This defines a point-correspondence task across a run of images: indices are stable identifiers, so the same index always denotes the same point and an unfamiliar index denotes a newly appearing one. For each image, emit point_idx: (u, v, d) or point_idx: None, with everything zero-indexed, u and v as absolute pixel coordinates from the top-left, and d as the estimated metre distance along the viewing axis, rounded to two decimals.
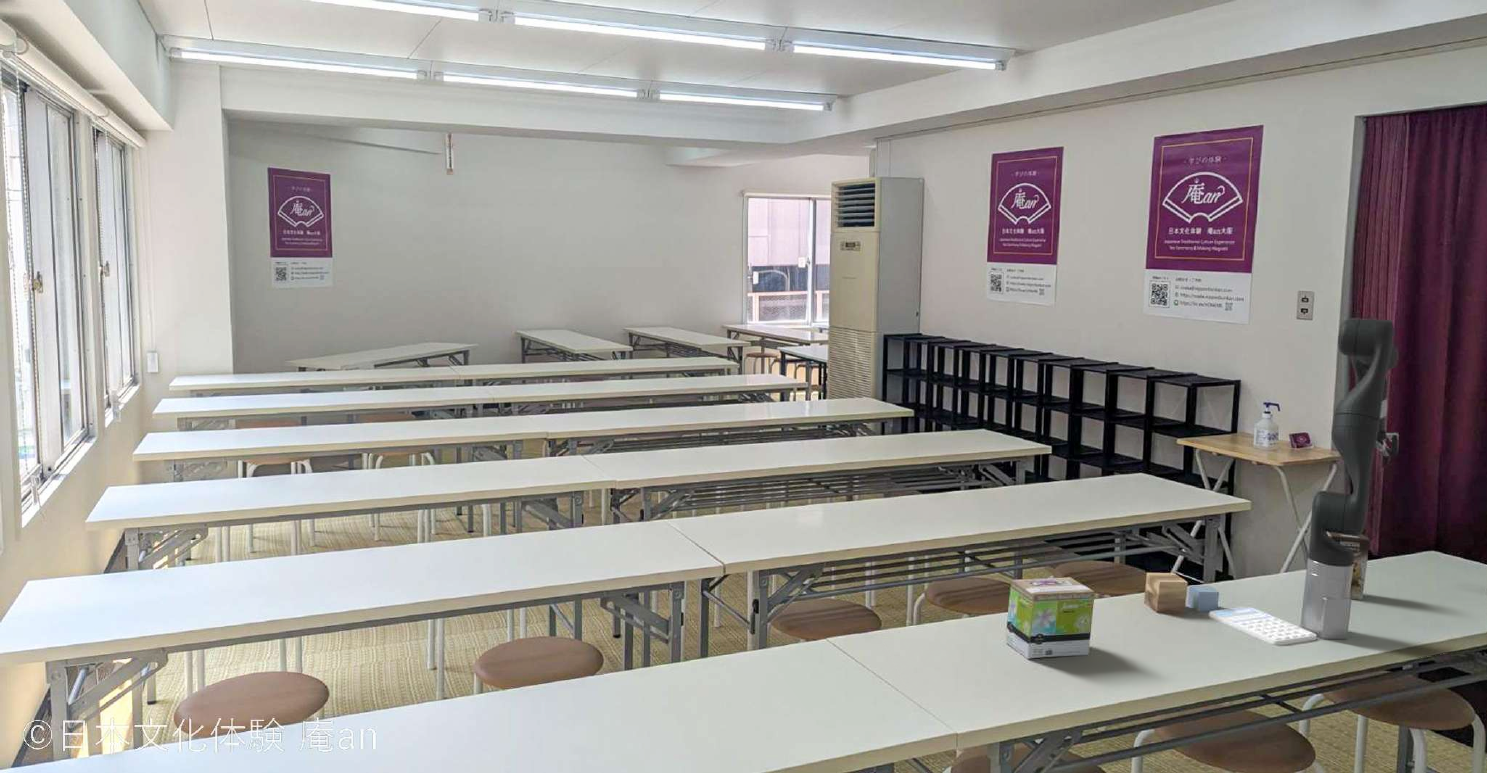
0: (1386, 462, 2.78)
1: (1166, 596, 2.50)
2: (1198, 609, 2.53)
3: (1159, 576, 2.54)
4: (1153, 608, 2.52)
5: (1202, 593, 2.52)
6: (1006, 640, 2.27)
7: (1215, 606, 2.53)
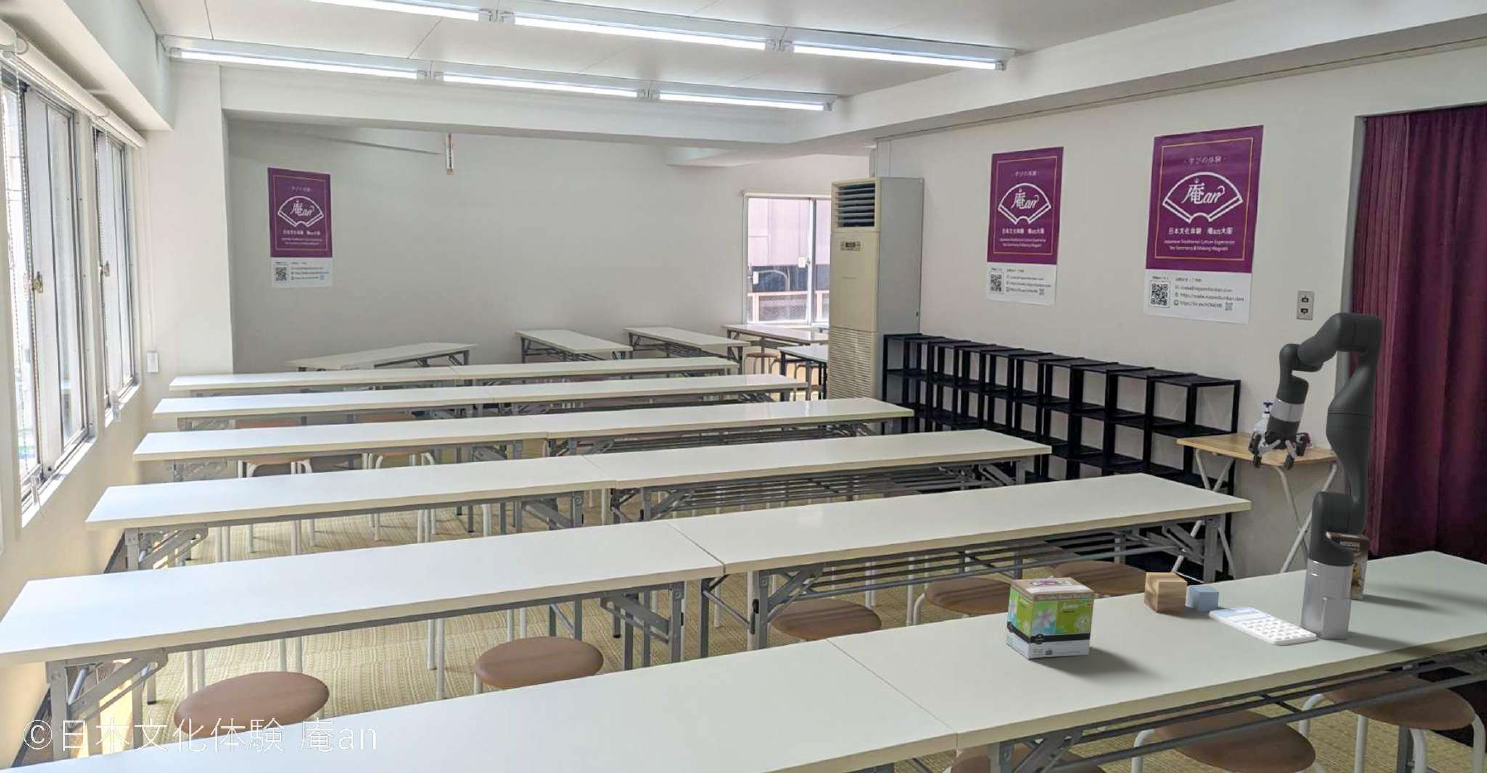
0: (1291, 464, 2.83)
1: (1165, 596, 2.50)
2: (1198, 609, 2.53)
3: (1159, 575, 2.54)
4: (1153, 608, 2.52)
5: (1202, 593, 2.52)
6: (1006, 640, 2.27)
7: (1215, 606, 2.53)
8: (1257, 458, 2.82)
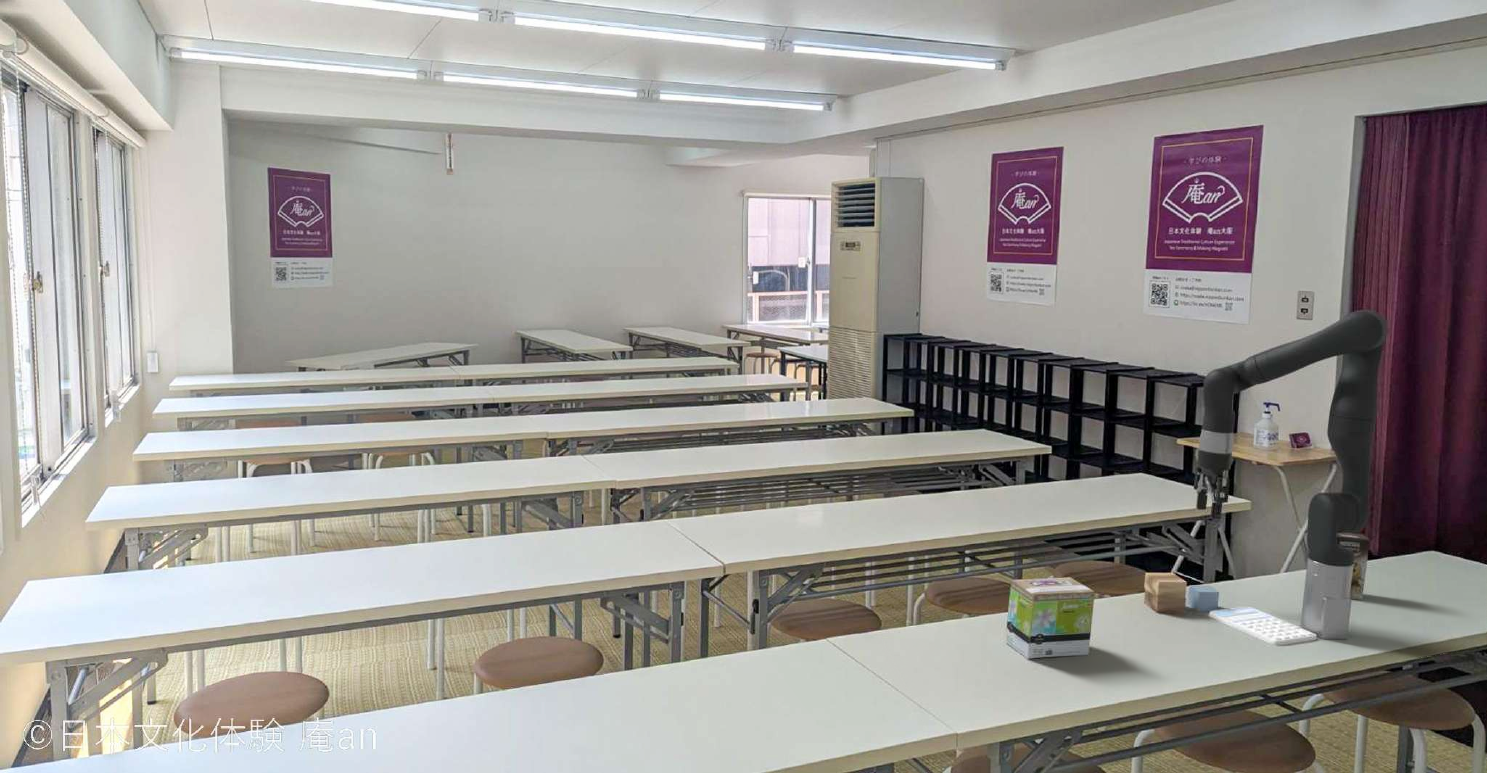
0: None
1: (1165, 596, 2.50)
2: (1198, 609, 2.53)
3: (1158, 576, 2.54)
4: (1153, 608, 2.52)
5: (1202, 593, 2.52)
6: (1006, 640, 2.27)
7: (1215, 606, 2.53)
8: None
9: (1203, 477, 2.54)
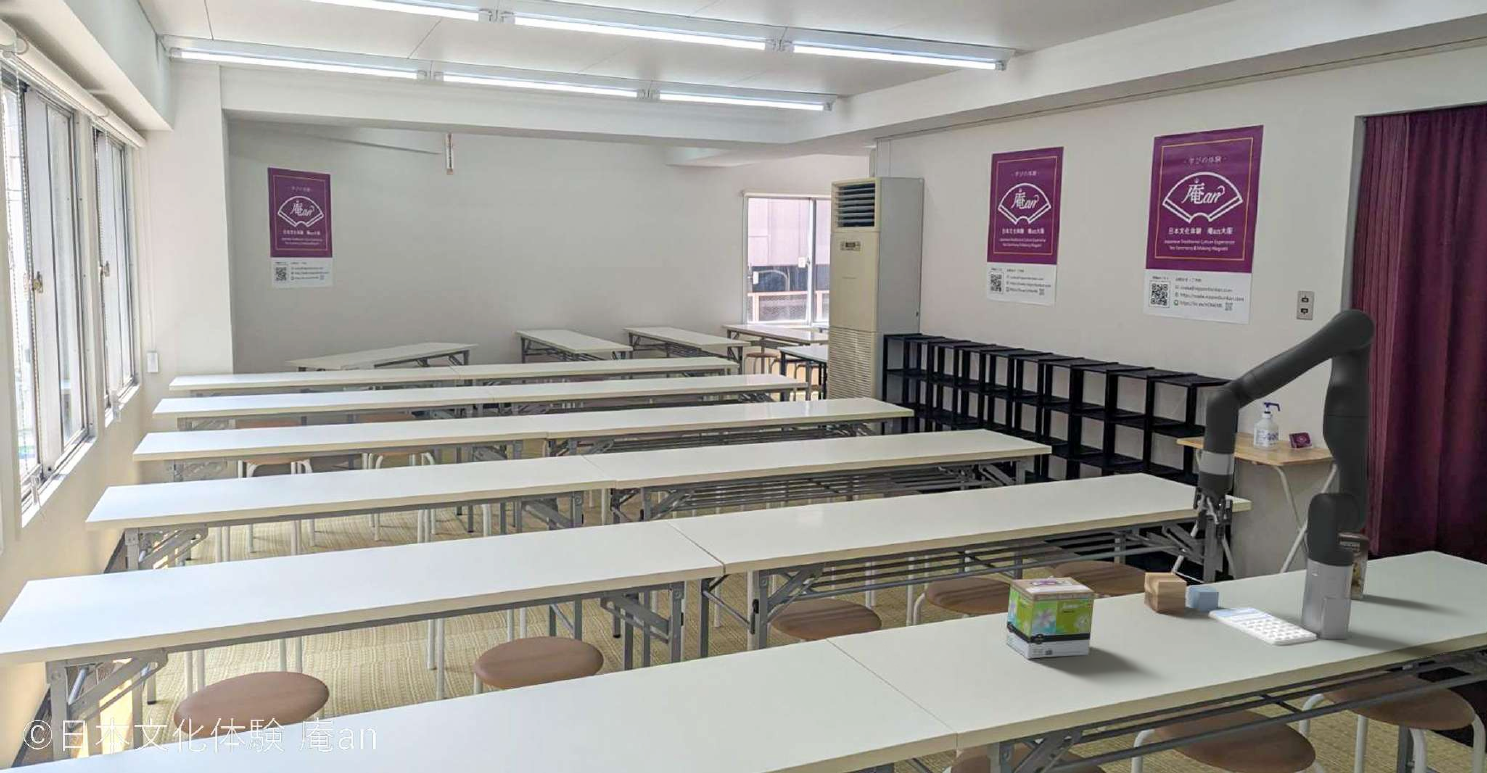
0: None
1: (1165, 596, 2.50)
2: (1198, 609, 2.53)
3: (1158, 575, 2.54)
4: (1153, 608, 2.52)
5: (1202, 593, 2.52)
6: (1006, 640, 2.27)
7: (1215, 606, 2.53)
8: None
9: (1204, 498, 2.52)
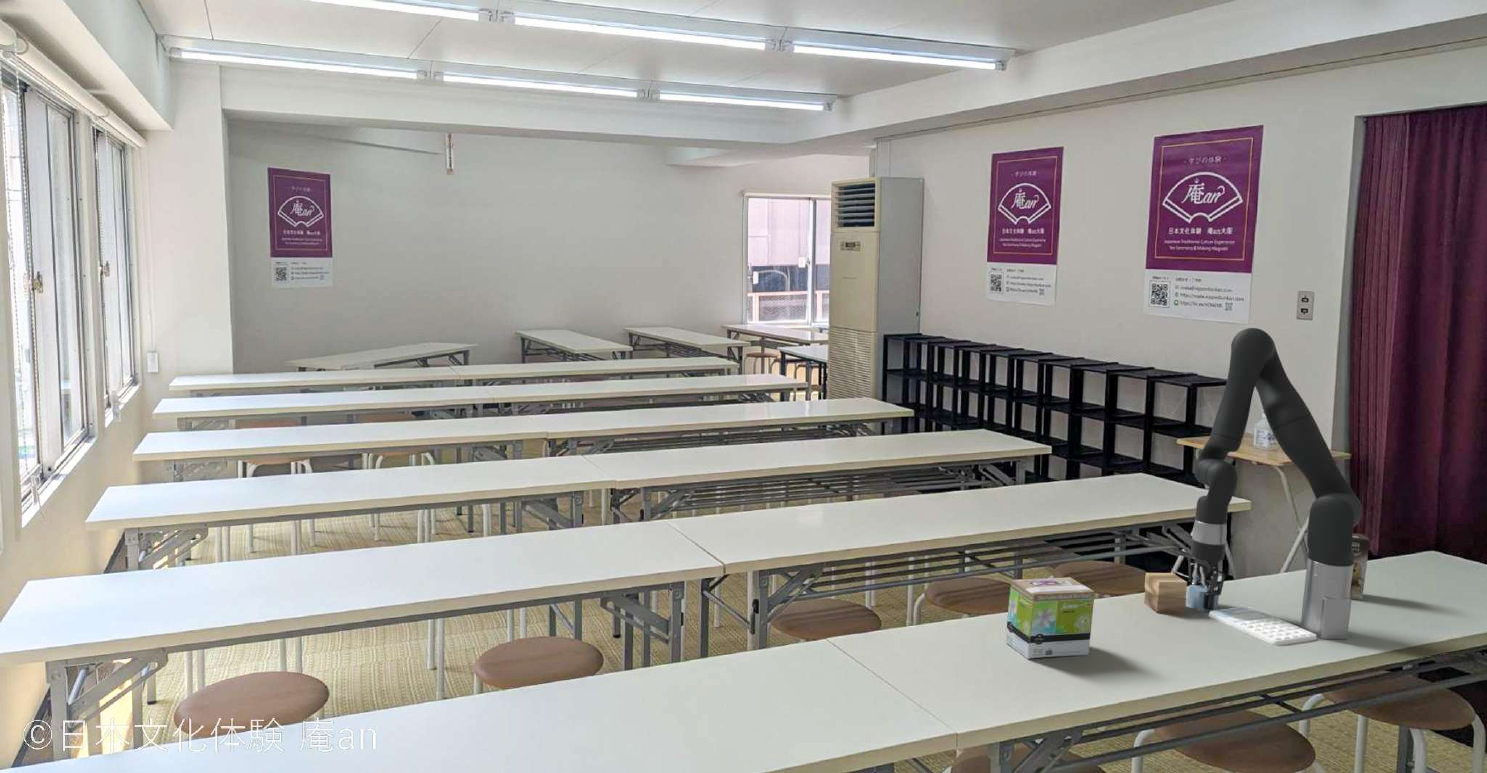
0: None
1: (1165, 596, 2.50)
2: (1198, 609, 2.53)
3: (1158, 576, 2.54)
4: (1153, 608, 2.52)
5: (1202, 593, 2.52)
6: (1006, 640, 2.27)
7: (1215, 605, 2.53)
8: None
9: (1197, 566, 2.54)
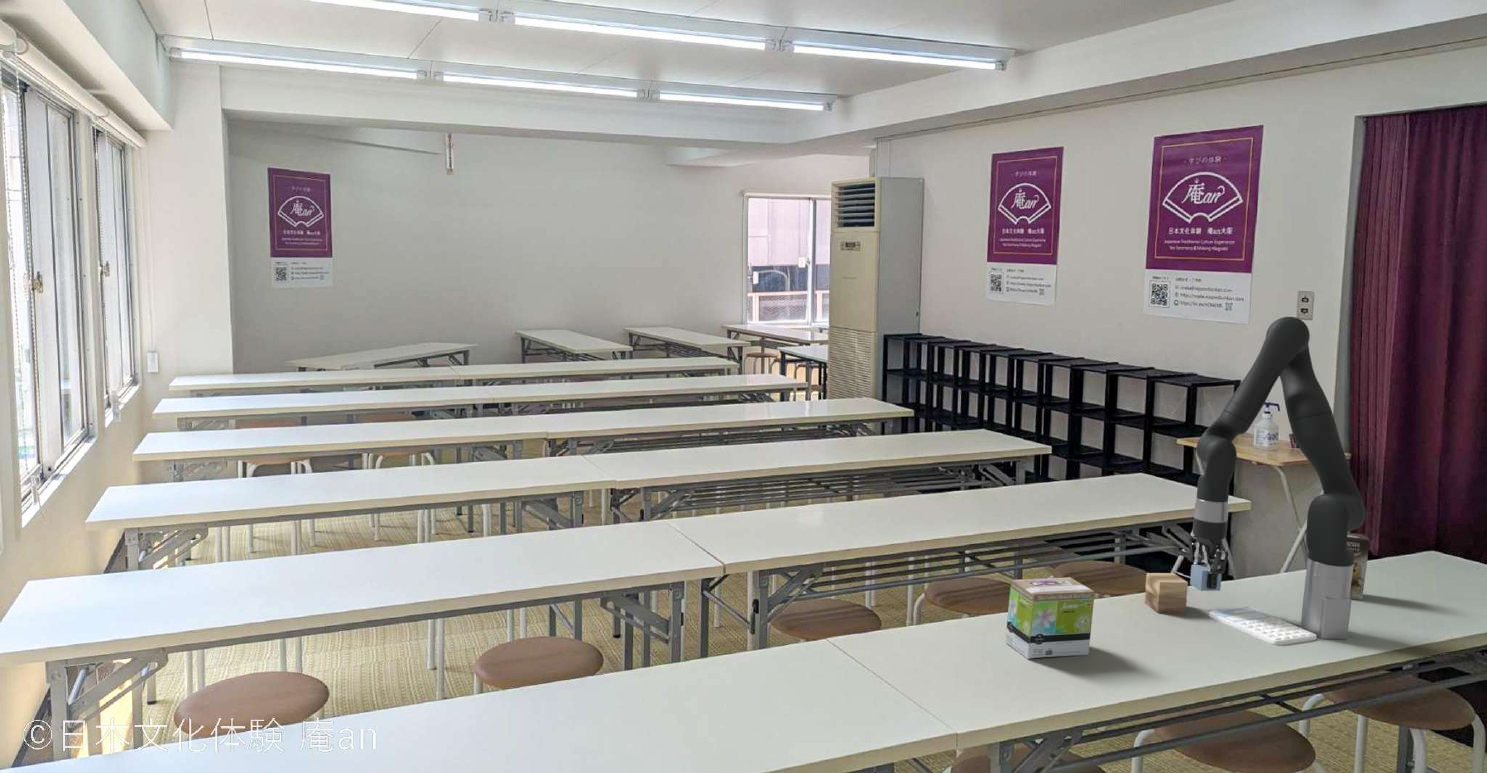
0: None
1: (1166, 596, 2.50)
2: (1201, 588, 2.51)
3: (1159, 576, 2.54)
4: (1154, 609, 2.52)
5: (1205, 572, 2.50)
6: (1006, 640, 2.27)
7: (1218, 584, 2.51)
8: None
9: (1199, 545, 2.53)
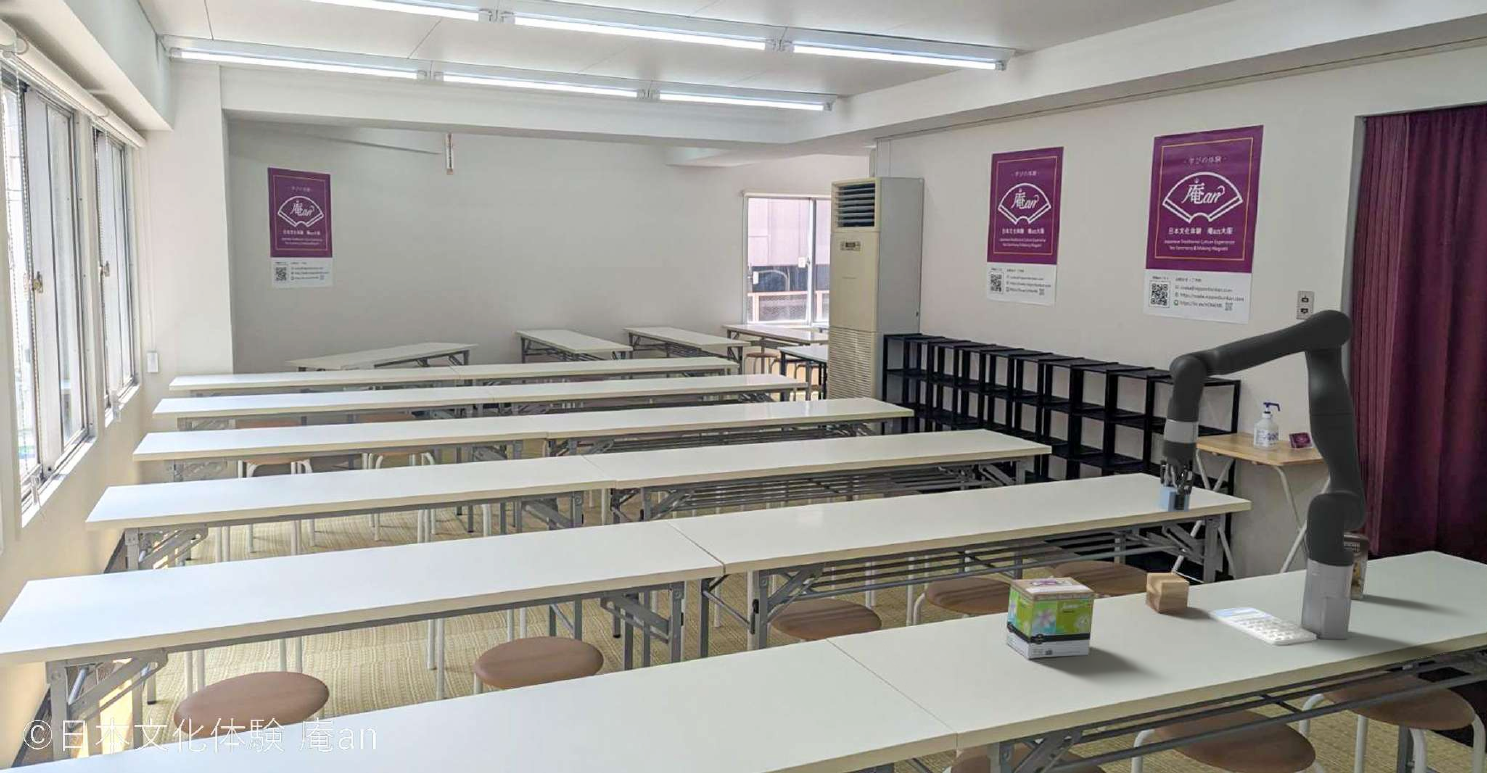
0: None
1: (1168, 596, 2.50)
2: (1169, 509, 2.49)
3: (1160, 576, 2.54)
4: (1155, 609, 2.52)
5: (1173, 493, 2.48)
6: (1006, 640, 2.27)
7: (1186, 506, 2.49)
8: None
9: (1168, 466, 2.50)
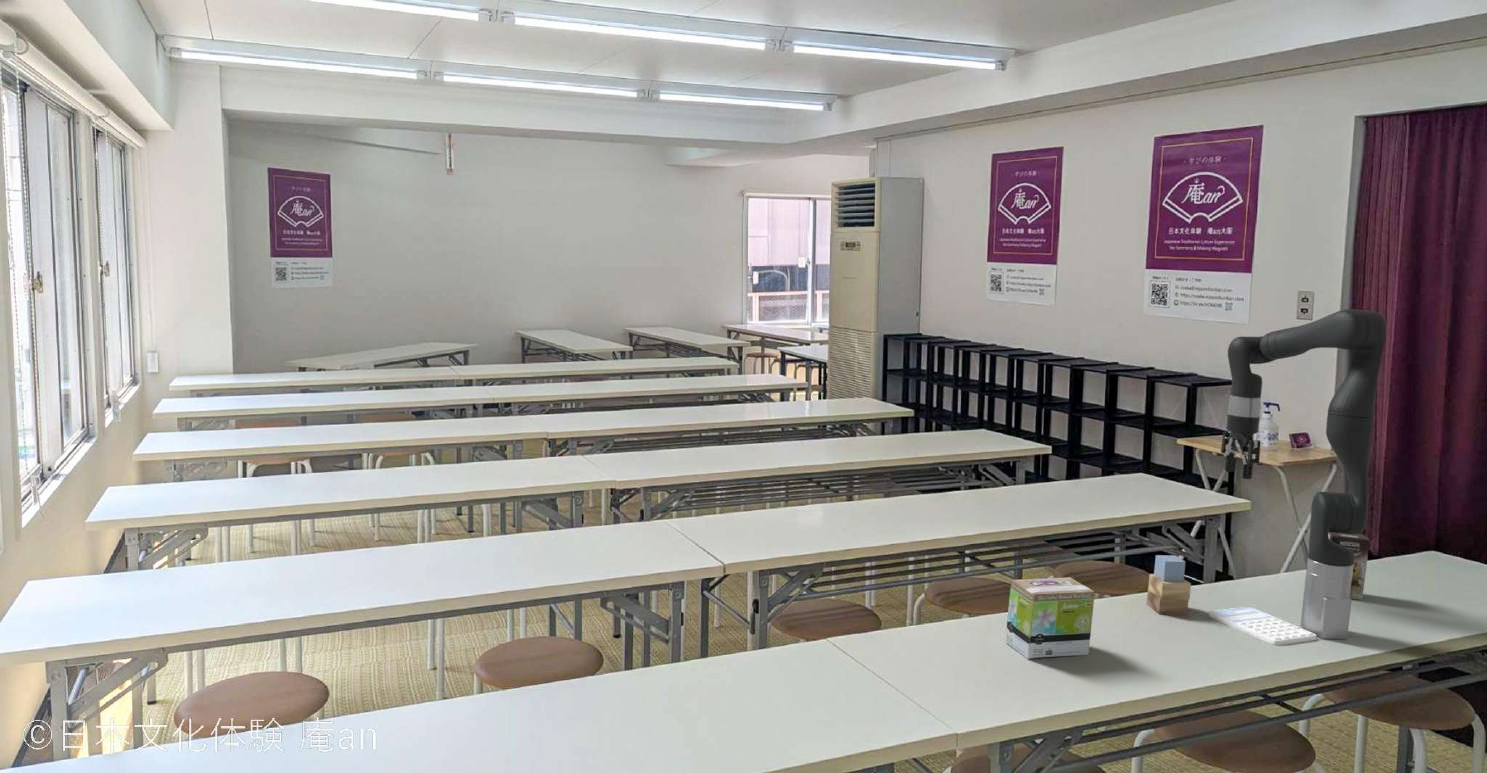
0: None
1: (1169, 597, 2.49)
2: (1164, 579, 2.50)
3: None
4: (1155, 609, 2.51)
5: (1168, 563, 2.49)
6: (1006, 640, 2.27)
7: (1181, 575, 2.50)
8: None
9: (1232, 441, 2.68)
